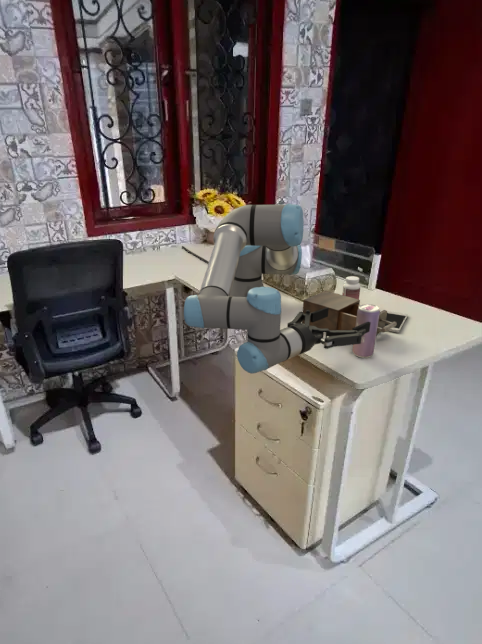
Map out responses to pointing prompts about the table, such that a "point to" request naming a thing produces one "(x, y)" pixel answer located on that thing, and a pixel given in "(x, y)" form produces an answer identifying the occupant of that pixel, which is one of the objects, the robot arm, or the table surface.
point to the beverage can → (368, 340)
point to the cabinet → (331, 301)
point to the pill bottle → (351, 287)
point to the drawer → (350, 314)
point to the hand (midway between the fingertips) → (347, 318)
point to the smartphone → (396, 320)
